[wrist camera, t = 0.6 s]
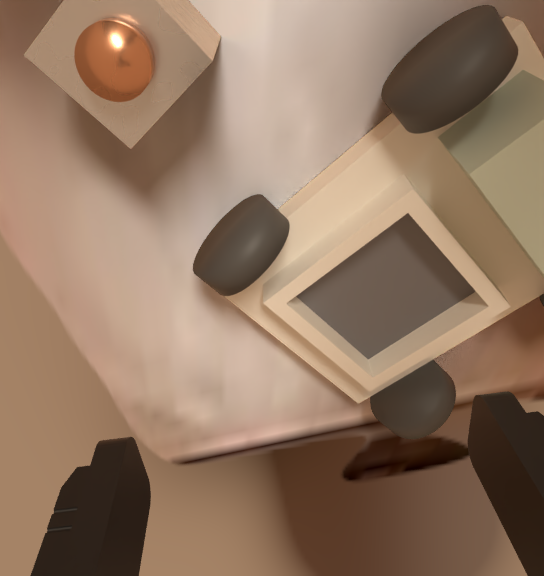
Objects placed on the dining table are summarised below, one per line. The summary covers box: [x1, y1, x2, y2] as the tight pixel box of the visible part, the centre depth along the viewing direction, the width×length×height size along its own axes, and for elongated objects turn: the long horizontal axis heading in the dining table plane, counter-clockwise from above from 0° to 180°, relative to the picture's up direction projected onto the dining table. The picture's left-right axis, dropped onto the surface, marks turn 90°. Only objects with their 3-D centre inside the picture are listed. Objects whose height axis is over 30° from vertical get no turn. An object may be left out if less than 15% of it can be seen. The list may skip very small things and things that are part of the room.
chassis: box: [193, 5, 544, 439], centre depth 30 cm, size 22×20×7 cm
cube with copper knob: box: [24, 0, 221, 149], centre depth 23 cm, size 6×6×7 cm
